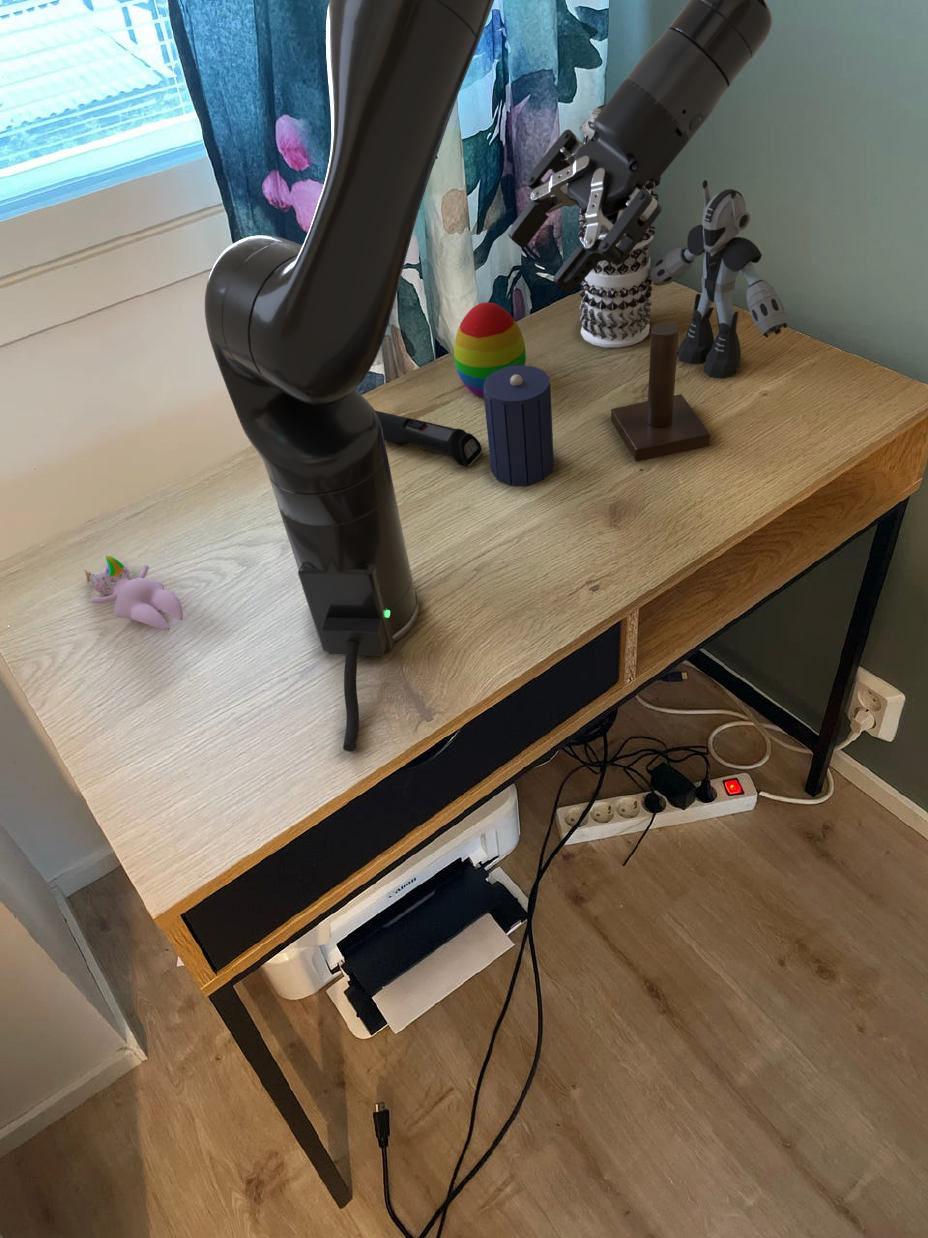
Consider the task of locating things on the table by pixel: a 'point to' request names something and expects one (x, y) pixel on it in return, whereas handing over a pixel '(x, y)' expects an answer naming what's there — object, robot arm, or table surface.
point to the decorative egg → (487, 345)
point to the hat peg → (660, 406)
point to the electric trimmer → (430, 437)
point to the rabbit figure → (135, 595)
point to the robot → (720, 284)
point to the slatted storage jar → (519, 424)
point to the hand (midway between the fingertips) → (537, 264)
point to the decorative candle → (616, 284)
